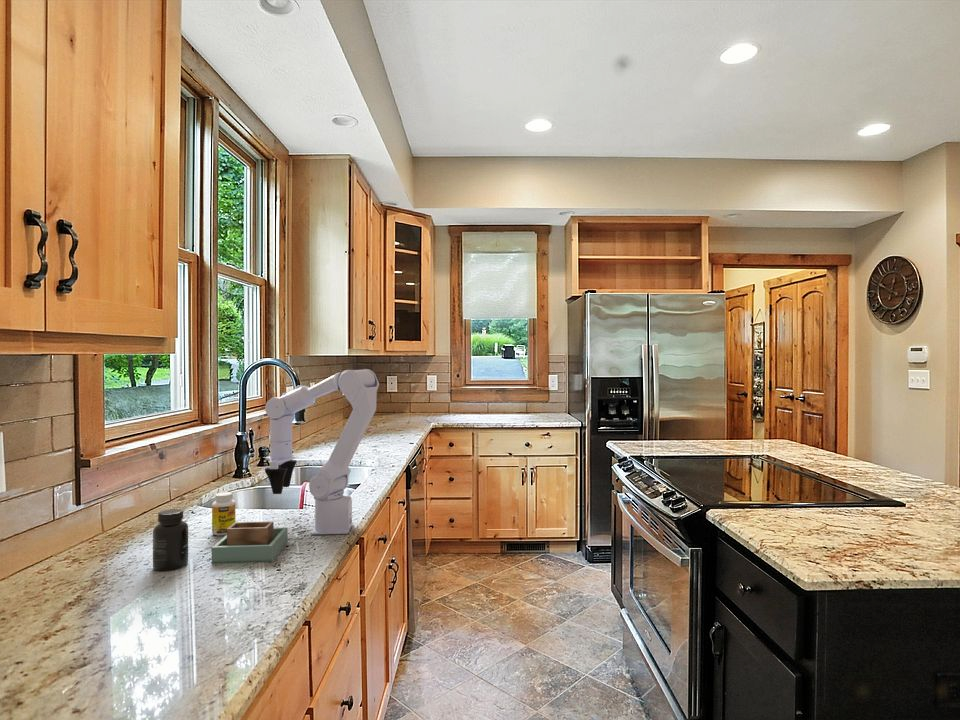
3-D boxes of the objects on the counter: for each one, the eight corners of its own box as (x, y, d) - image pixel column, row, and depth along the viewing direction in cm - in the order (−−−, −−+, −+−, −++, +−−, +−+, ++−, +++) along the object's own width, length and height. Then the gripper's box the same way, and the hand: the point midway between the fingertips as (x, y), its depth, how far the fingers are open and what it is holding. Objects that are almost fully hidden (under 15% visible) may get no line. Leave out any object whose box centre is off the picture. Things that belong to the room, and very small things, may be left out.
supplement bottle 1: (193, 565, 119) (193, 511, 119) (158, 574, 114) (158, 518, 114) (182, 557, 124) (182, 505, 124) (148, 566, 119) (148, 511, 119)
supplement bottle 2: (216, 537, 137) (216, 497, 137) (209, 532, 141) (208, 493, 141) (238, 533, 141) (238, 493, 141) (231, 528, 145) (231, 490, 145)
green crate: (287, 543, 134) (287, 527, 134) (271, 563, 121) (271, 545, 121) (233, 545, 133) (233, 528, 133) (211, 565, 120) (211, 547, 120)
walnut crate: (273, 546, 130) (273, 521, 130) (267, 553, 125) (266, 527, 125) (235, 547, 129) (234, 522, 129) (226, 554, 124) (226, 528, 124)
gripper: (274, 436, 155) (274, 484, 155) (257, 445, 140) (257, 497, 141) (299, 436, 155) (299, 483, 156) (285, 444, 141) (285, 496, 141)
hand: (281, 490), depth 148 cm, fingers open, 7 cm apart
